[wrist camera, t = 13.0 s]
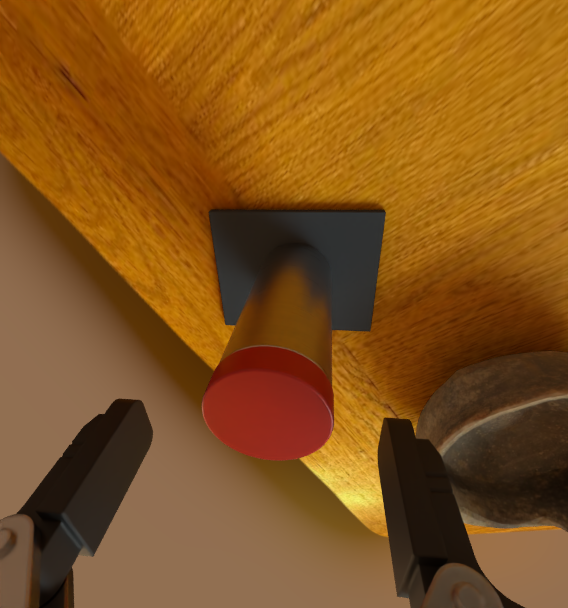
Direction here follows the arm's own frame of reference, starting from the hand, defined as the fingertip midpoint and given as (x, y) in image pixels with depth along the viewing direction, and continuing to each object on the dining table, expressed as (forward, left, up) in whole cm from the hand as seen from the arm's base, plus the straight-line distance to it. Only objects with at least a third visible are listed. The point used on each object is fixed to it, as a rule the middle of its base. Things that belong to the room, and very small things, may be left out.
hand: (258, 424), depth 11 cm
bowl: (+16, -11, -12) cm, 23 cm away
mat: (0, 0, -12) cm, 12 cm away
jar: (0, 0, -11) cm, 11 cm away
